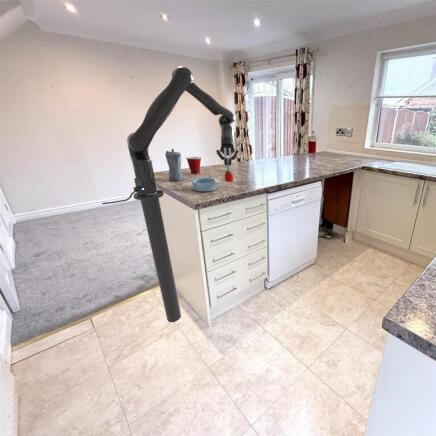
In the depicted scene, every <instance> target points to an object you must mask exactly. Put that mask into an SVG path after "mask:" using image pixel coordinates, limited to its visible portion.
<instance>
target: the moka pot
mask: <svg viewBox="0 0 436 436" xmlns="http://www.w3.org/2000/svg"><path fill="white" fill-rule="evenodd" d="M164 155H165V159H166V163H167V165H168V179H169V181H171V182H181V181H184V174H183V172H182V153H181V152H178V151H175V149H174V148H171V151H169V150H166V152H165V153H164Z"/></svg>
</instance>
